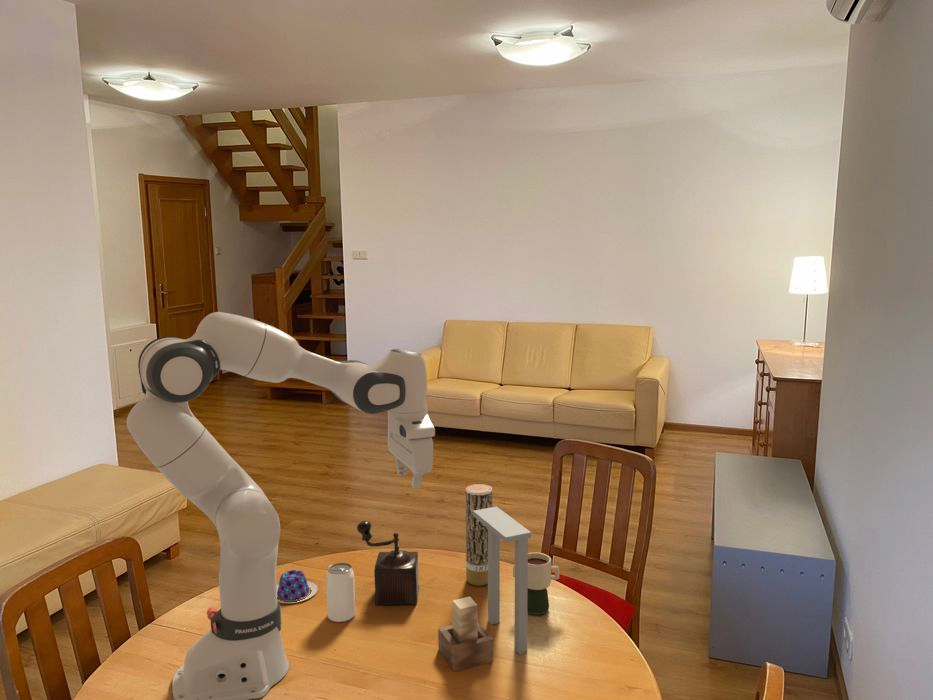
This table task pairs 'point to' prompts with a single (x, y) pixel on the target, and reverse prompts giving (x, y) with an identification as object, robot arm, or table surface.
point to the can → (340, 592)
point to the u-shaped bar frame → (508, 532)
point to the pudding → (294, 586)
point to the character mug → (539, 582)
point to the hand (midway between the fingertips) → (409, 481)
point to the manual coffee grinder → (393, 572)
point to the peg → (465, 620)
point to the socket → (465, 649)
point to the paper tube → (477, 534)
